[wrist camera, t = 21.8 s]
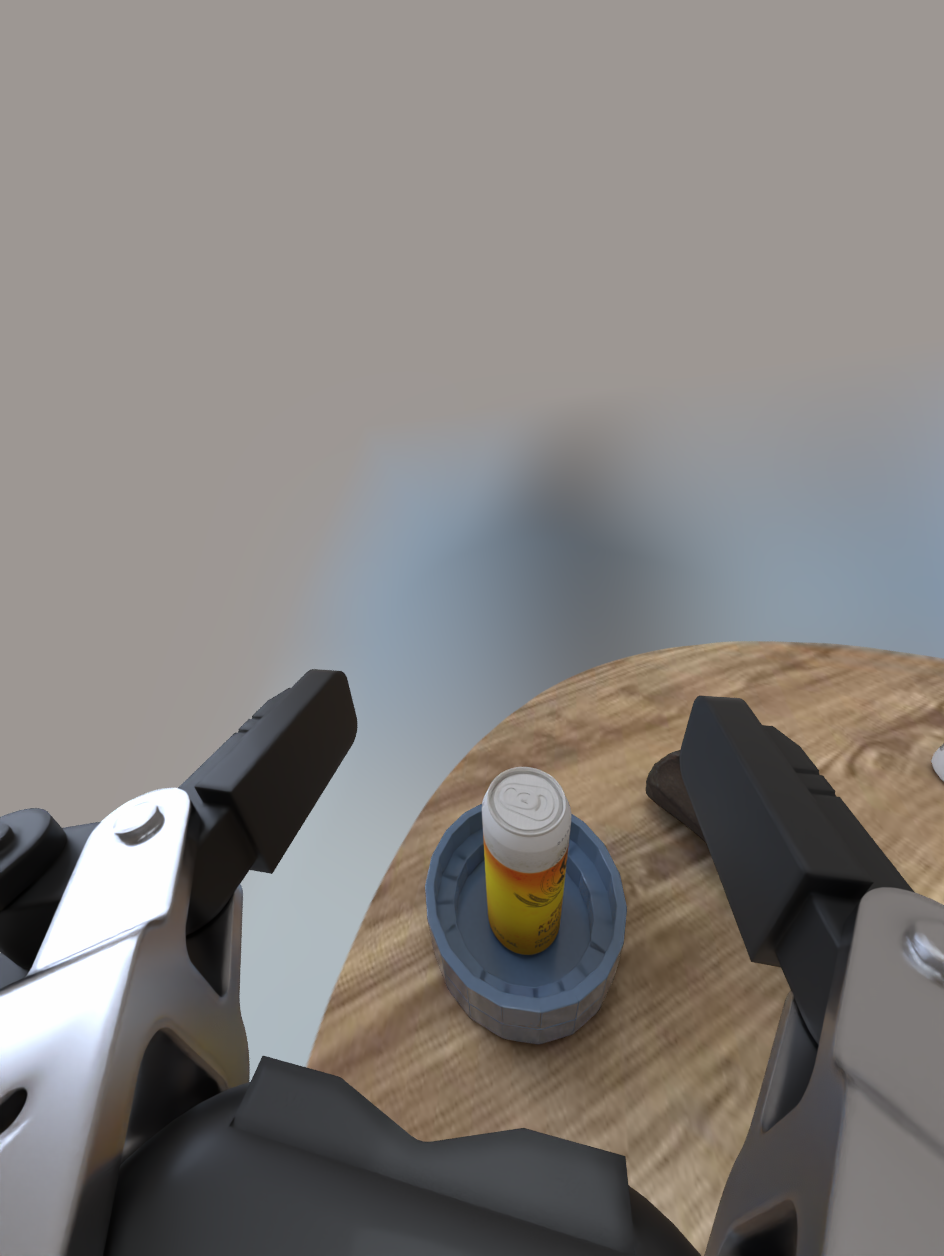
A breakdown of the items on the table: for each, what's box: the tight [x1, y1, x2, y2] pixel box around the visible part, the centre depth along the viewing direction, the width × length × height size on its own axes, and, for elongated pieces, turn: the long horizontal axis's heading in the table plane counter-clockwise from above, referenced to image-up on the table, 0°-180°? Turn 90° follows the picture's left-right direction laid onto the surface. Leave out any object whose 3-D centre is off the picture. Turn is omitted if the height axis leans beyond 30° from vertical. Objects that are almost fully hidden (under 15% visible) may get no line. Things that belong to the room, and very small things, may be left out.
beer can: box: [482, 767, 571, 955], centre depth 29 cm, size 6×6×15 cm
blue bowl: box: [425, 804, 627, 1044], centre depth 31 cm, size 15×15×6 cm
